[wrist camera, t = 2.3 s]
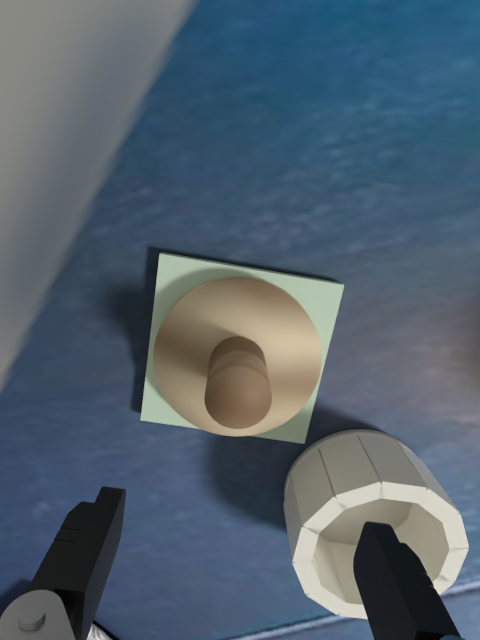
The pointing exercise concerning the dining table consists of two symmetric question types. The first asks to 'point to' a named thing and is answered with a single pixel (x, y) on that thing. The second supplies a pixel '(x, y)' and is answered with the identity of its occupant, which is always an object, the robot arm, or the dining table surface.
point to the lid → (237, 356)
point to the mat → (191, 272)
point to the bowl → (365, 514)
